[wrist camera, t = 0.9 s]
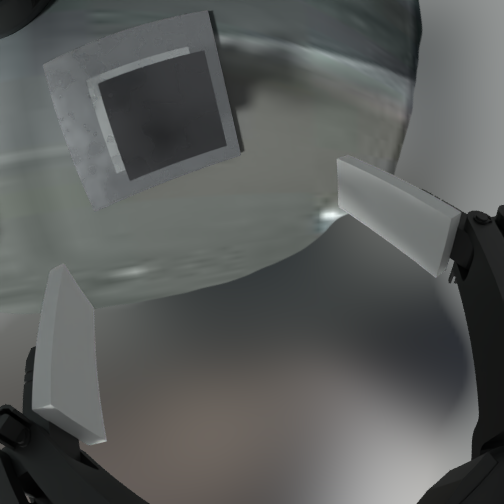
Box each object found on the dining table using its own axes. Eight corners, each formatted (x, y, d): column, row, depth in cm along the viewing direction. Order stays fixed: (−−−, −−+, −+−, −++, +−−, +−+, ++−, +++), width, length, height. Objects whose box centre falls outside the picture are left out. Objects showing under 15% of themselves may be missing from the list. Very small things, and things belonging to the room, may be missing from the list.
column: (113, 92, 29) (97, 83, 13) (161, 75, 31) (204, 50, 14) (127, 137, 33) (129, 181, 16) (173, 119, 34) (226, 145, 18)
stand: (45, 65, 24) (17, 55, 15) (205, 12, 29) (234, -13, 20) (95, 208, 37) (88, 246, 28) (238, 153, 42) (273, 173, 33)
